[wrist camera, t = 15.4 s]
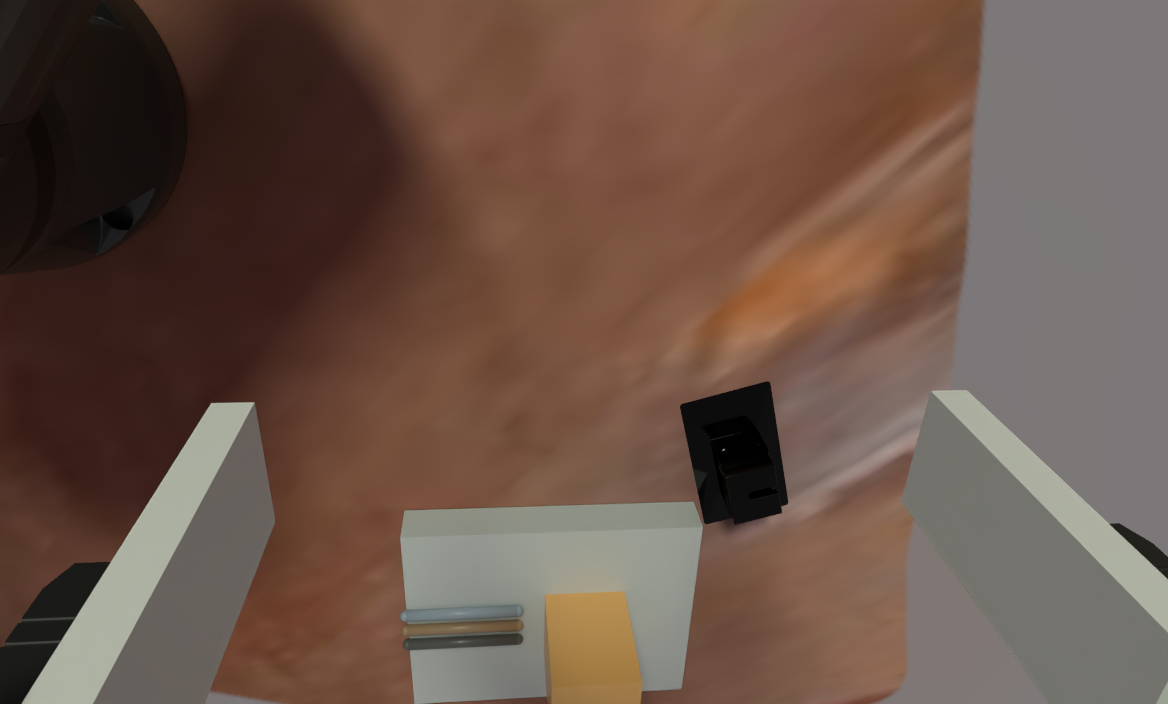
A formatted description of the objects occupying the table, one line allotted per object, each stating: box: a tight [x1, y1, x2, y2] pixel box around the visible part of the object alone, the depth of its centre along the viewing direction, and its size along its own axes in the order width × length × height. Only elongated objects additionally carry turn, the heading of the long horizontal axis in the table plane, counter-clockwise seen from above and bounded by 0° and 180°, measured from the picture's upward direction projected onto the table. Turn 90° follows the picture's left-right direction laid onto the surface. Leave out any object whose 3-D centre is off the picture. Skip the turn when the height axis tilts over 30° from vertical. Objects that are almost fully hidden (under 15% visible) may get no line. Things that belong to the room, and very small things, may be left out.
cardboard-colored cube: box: [544, 591, 643, 704], centre depth 48 cm, size 5×5×7 cm
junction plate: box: [400, 502, 703, 704], centre depth 49 cm, size 18×14×8 cm
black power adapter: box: [680, 382, 788, 525], centre depth 47 cm, size 12×7×5 cm, turn 14°
